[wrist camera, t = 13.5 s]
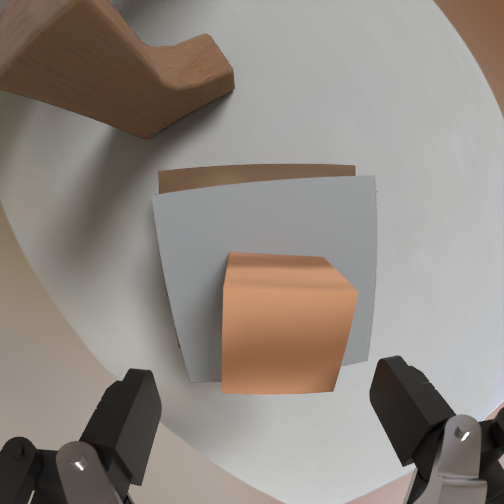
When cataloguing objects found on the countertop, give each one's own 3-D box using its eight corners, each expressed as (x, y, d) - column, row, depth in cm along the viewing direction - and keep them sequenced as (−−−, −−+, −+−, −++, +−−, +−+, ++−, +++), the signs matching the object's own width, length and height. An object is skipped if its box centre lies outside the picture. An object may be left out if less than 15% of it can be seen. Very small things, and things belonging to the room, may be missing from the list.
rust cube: (229, 252, 14) (223, 287, 10) (323, 256, 15) (358, 291, 10) (226, 335, 16) (221, 392, 11) (310, 336, 16) (333, 391, 11)
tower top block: (174, 191, 18) (151, 195, 14) (343, 176, 18) (375, 175, 14) (199, 343, 21) (190, 382, 16) (345, 326, 21) (367, 360, 17)
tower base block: (174, 173, 23) (158, 171, 18) (333, 168, 23) (355, 165, 18) (188, 319, 26) (179, 347, 21) (329, 312, 27) (345, 338, 22)
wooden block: (213, 53, 20) (175, -101, 2) (236, 90, 21) (227, -71, 3) (126, 104, 20) (-17, 27, 3) (146, 141, 22) (-15, 91, 4)
